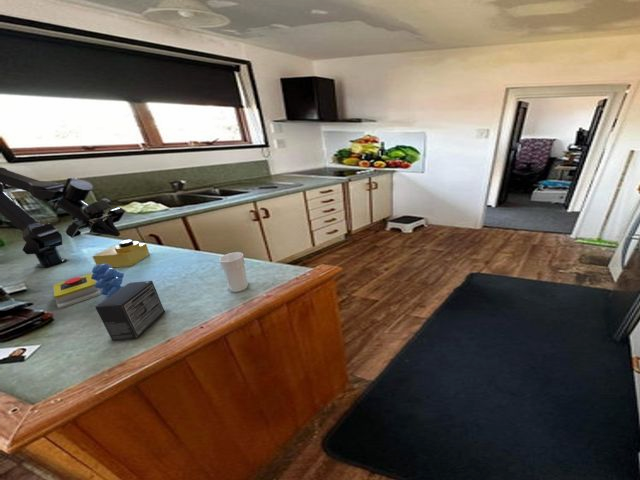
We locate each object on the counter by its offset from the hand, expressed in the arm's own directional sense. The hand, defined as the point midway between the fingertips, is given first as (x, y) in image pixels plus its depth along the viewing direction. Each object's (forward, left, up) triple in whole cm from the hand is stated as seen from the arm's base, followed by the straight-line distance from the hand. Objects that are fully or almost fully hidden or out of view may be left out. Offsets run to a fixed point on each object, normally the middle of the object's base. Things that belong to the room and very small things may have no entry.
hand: (119, 235), depth 105 cm
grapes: (+26, -17, -11) cm, 33 cm away
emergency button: (+11, -20, -11) cm, 25 cm away
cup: (+60, -2, -11) cm, 61 cm away
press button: (+1, 0, -4) cm, 5 cm away
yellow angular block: (-1, -1, -11) cm, 11 cm away
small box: (+49, -24, -11) cm, 55 cm away
